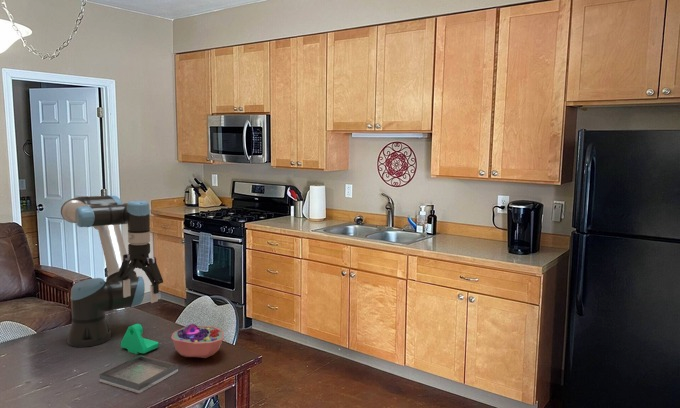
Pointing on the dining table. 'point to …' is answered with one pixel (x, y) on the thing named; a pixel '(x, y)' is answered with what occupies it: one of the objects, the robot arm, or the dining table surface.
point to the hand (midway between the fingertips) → (140, 299)
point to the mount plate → (138, 373)
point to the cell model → (197, 341)
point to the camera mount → (137, 340)
